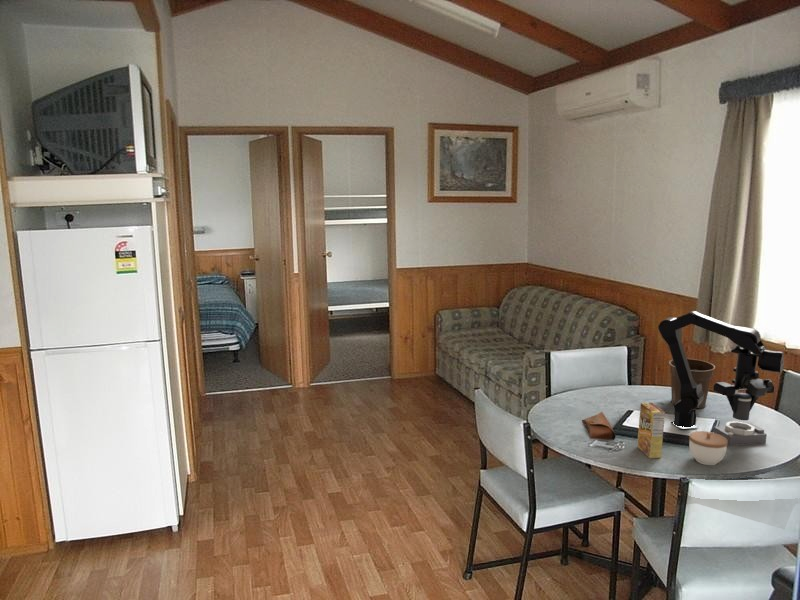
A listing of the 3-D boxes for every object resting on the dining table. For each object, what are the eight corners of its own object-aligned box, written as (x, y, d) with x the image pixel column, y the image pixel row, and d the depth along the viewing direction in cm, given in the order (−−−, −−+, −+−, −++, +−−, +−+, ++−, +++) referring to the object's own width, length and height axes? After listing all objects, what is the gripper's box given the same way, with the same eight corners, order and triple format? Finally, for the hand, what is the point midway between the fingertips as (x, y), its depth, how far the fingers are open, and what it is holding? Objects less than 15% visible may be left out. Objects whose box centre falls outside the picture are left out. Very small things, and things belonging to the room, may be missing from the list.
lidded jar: (716, 454, 204) (719, 426, 202) (731, 469, 194) (734, 440, 192) (682, 453, 205) (684, 425, 203) (695, 468, 194) (697, 439, 192)
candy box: (636, 447, 210) (639, 402, 207) (648, 446, 210) (652, 402, 207) (649, 458, 201) (652, 412, 198) (662, 457, 201) (665, 411, 199)
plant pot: (711, 414, 238) (715, 372, 235) (664, 407, 245) (667, 367, 242) (711, 400, 253) (715, 361, 249) (667, 394, 259) (670, 356, 256)
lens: (739, 420, 212) (741, 397, 210) (728, 415, 216) (731, 392, 215) (752, 420, 212) (755, 396, 211) (742, 414, 217) (744, 391, 216)
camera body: (730, 445, 210) (731, 432, 209) (712, 434, 219) (714, 422, 218) (765, 442, 212) (767, 430, 212) (747, 432, 221) (748, 419, 220)
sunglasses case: (580, 419, 234) (590, 404, 232) (596, 428, 234) (607, 414, 232) (590, 439, 216) (601, 423, 215) (607, 449, 216) (619, 433, 215)
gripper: (737, 376, 202) (732, 422, 205) (789, 373, 205) (784, 419, 208) (714, 365, 212) (710, 410, 215) (764, 363, 215) (759, 407, 218)
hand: (741, 412), depth 214 cm, fingers closed on lens, 5 cm apart
